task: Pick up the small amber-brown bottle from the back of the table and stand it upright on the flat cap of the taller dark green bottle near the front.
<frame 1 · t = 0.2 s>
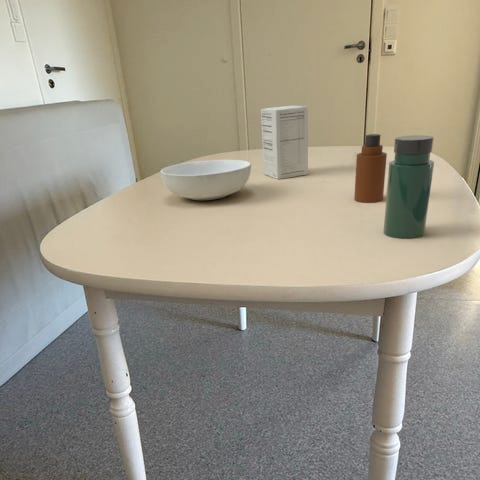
green bottle: (403, 232, 73), on the table
serving bowl: (208, 197, 106), on the table
supplement box: (285, 175, 123), on the table
amber bottle: (368, 199, 93), on the table
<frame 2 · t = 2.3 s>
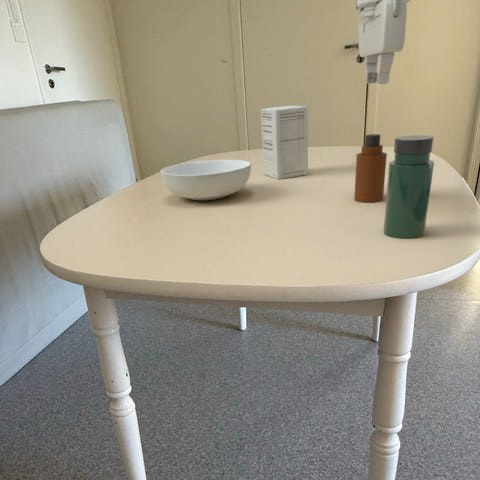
hand: (376, 83, 83), 21 cm above the table, tool pointing down, fingers open, 8 cm apart
nothing on the table moved.
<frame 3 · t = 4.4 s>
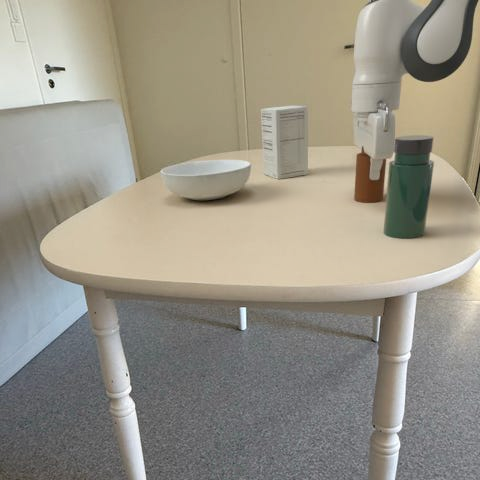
hand: (370, 175, 91), 5 cm above the table, tool pointing down, fingers closed on amber bottle, 6 cm apart
amber bottle: (368, 199, 93), on the table, touching gripper
everything else where it was.
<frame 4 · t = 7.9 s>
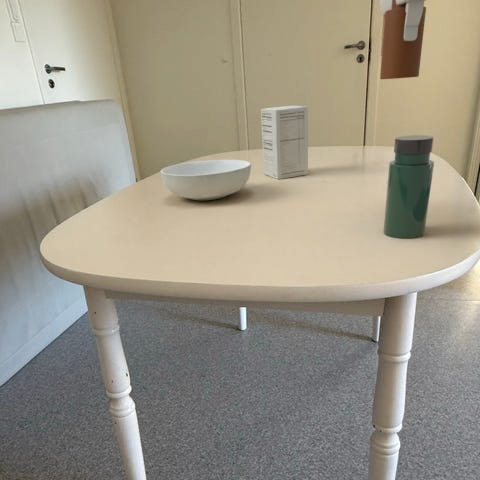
hand: (402, 42, 69), 27 cm above the table, tool pointing down, fingers closed on amber bottle, 6 cm apart
amber bottle: (399, 77, 71), point 22 cm above the table, touching gripper
everything else where it was.
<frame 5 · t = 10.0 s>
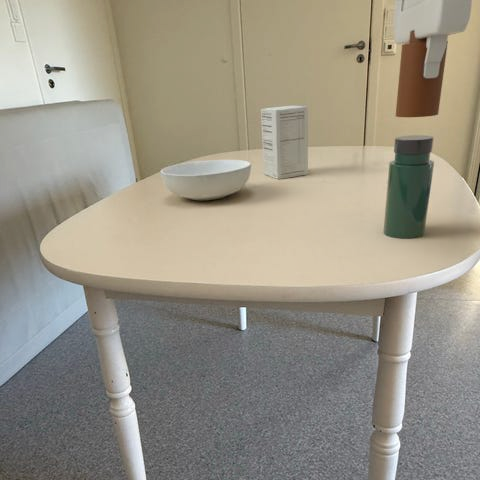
hand: (421, 78, 62), 22 cm above the table, tool pointing down, fingers closed on amber bottle, 6 cm apart
amber bottle: (416, 115, 65), point 18 cm above the table, touching gripper
everything else where it was.
when the fingers open (19 cm above the table, at t = 11.5 s): amber bottle stays where it is, resting on green bottle.
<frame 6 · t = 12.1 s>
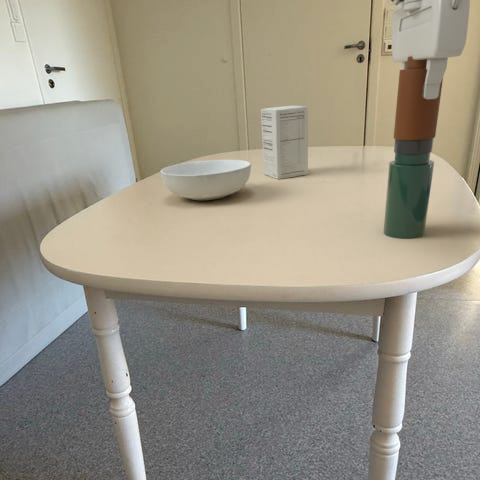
hand: (418, 97, 64), 20 cm above the table, tool pointing down, fingers open, 8 cm apart
green bottle: (403, 232, 73), on the table, touching amber bottle
amber bottle: (414, 137, 66), point 14 cm above the table, touching green bottle
everything else where it was.
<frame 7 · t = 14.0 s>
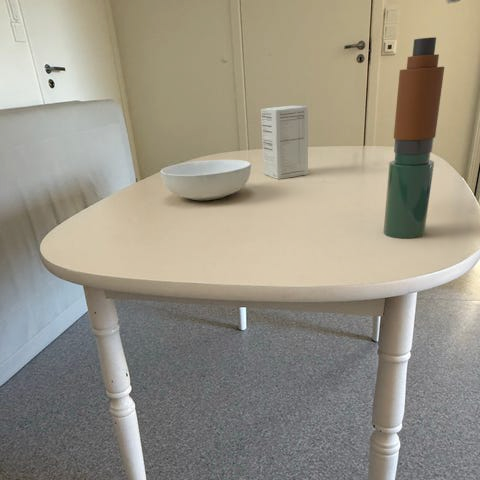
nothing on the table moved.
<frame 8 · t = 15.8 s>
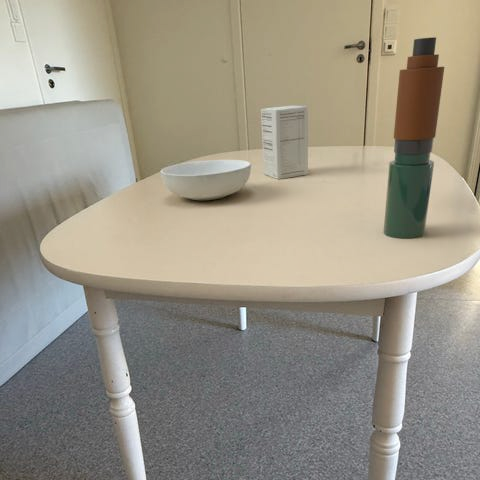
nothing on the table moved.
at the end: amber bottle 0.1 cm off-centre on the green bottle, point 14.5 cm above the green bottle's base; amber bottle tilted 0°; green bottle tilted 0° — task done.
